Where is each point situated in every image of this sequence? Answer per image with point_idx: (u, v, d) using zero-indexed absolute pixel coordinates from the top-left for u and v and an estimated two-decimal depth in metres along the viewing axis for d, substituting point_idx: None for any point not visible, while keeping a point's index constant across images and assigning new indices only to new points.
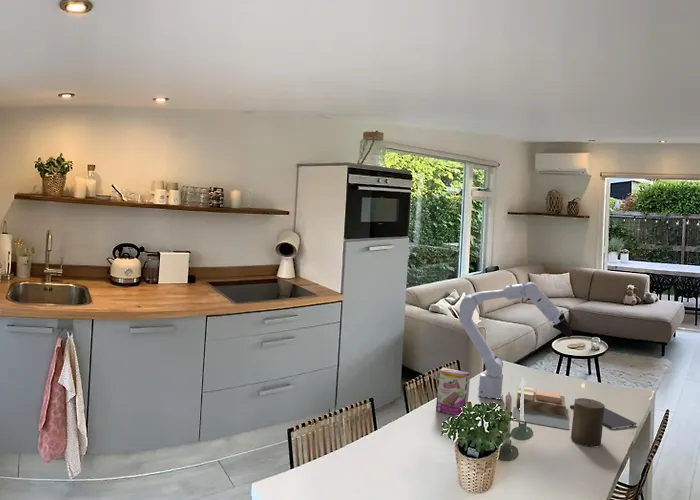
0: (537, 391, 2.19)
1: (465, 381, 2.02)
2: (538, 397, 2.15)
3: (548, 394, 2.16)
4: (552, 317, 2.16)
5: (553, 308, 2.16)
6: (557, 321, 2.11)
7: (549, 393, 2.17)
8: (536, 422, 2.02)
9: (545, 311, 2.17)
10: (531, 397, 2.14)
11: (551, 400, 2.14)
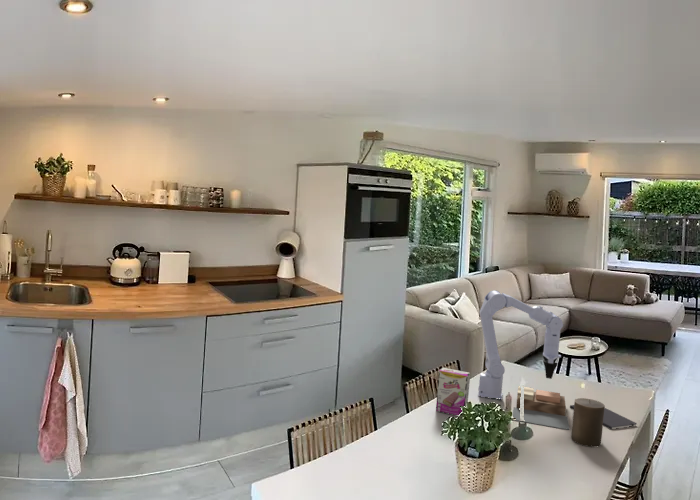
0: (537, 391, 2.19)
1: (465, 381, 2.02)
2: (538, 397, 2.15)
3: (548, 394, 2.16)
4: (549, 354, 2.23)
5: (556, 349, 2.22)
6: (551, 361, 2.18)
7: (549, 393, 2.17)
8: (536, 422, 2.02)
9: (548, 346, 2.23)
10: (531, 397, 2.14)
11: (551, 400, 2.14)
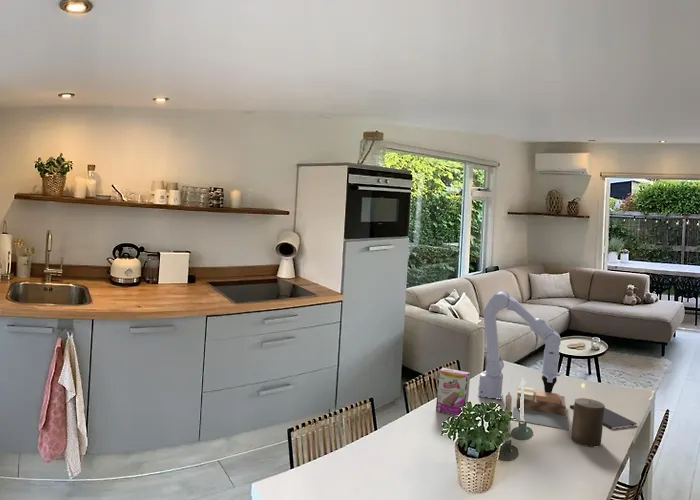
0: (537, 392, 2.18)
1: (465, 381, 2.02)
2: (538, 398, 2.14)
3: (548, 395, 2.15)
4: (548, 373, 2.17)
5: (555, 368, 2.16)
6: (550, 380, 2.12)
7: (549, 394, 2.16)
8: (536, 422, 2.02)
9: (547, 364, 2.17)
10: (531, 397, 2.14)
11: (551, 401, 2.13)
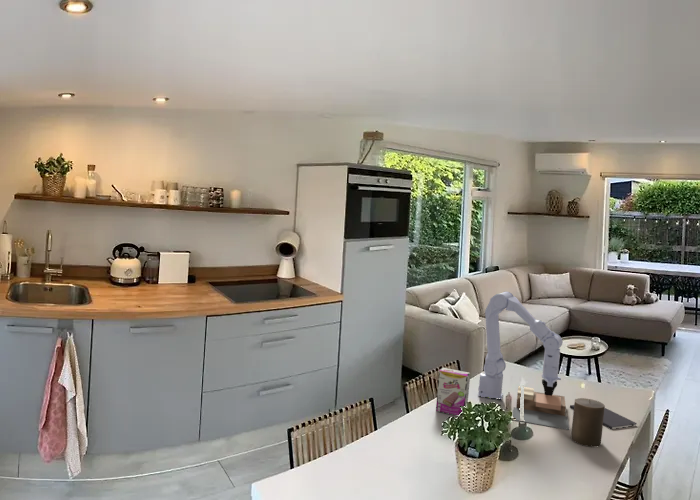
0: (537, 396, 2.13)
1: (465, 381, 2.02)
2: (538, 405, 2.10)
3: (548, 401, 2.10)
4: (548, 377, 2.12)
5: (555, 371, 2.11)
6: (550, 385, 2.07)
7: (549, 398, 2.11)
8: (536, 422, 2.02)
9: (547, 368, 2.12)
10: (531, 397, 2.14)
11: (551, 408, 2.08)
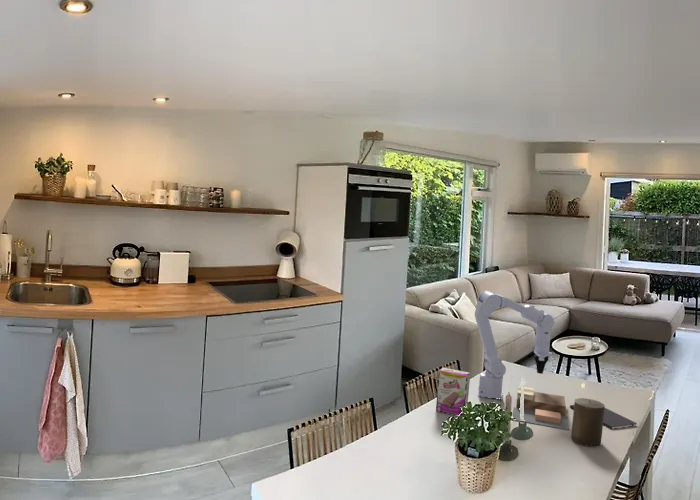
0: None
1: (465, 381, 2.02)
2: None
3: None
4: (540, 352, 2.26)
5: (547, 347, 2.25)
6: (542, 359, 2.21)
7: None
8: (536, 422, 2.02)
9: (539, 344, 2.26)
10: (531, 397, 2.14)
11: None
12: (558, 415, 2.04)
